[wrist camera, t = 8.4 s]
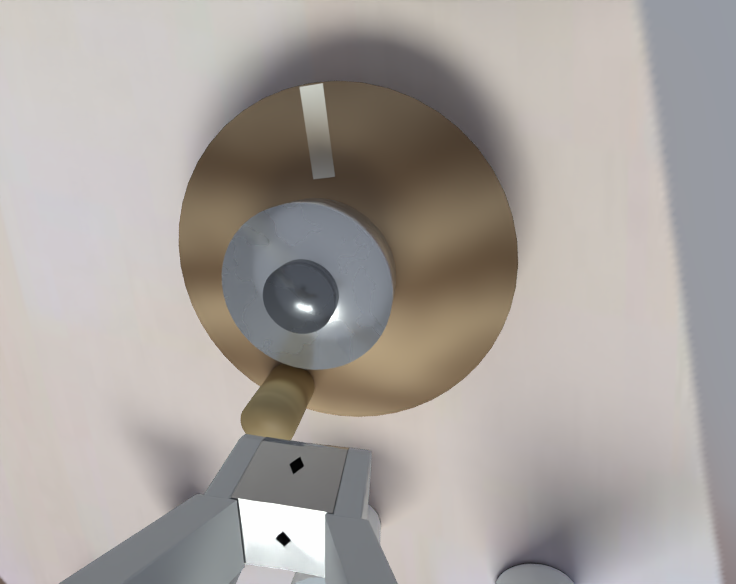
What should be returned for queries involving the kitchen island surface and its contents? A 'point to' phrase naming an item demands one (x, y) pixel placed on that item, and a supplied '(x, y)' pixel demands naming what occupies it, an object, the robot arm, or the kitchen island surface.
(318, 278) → the cover
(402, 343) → the turntable
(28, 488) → the kitchen island surface
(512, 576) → the bath foam
